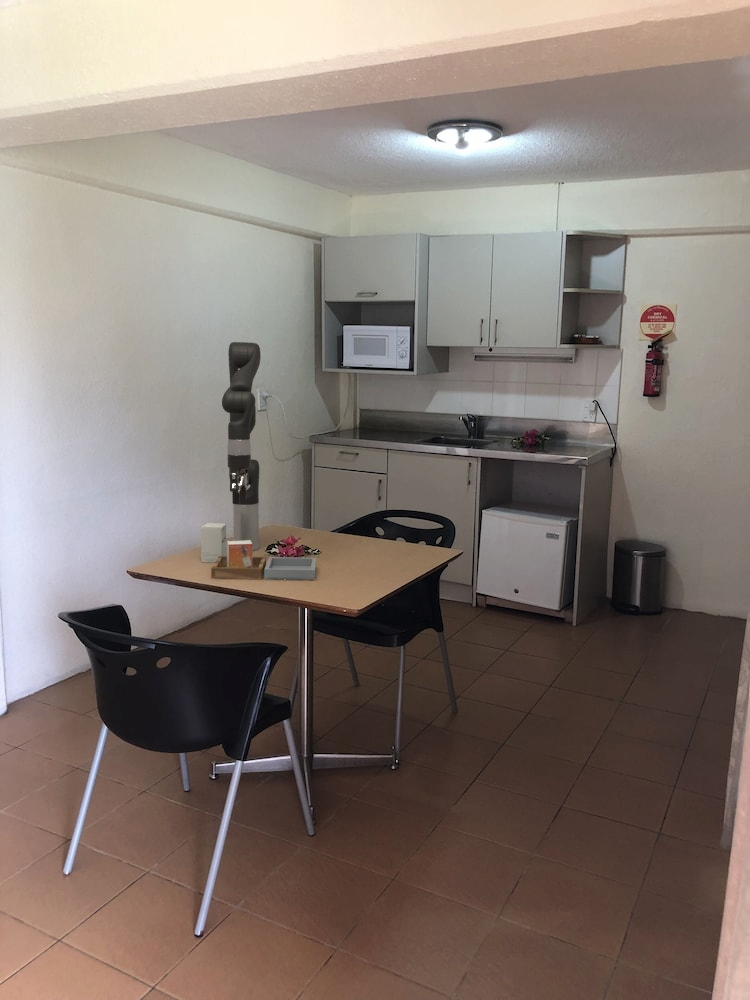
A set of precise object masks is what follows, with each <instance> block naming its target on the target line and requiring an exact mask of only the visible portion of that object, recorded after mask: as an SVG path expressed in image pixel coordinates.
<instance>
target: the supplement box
mask: <svg viewBox="0 0 750 1000" xmlns="http://www.w3.org/2000/svg"><path fill="white" fill-rule="evenodd" d="M200 533H201V534H200V541H201V543H200V545H201V547H200V549H201V551H200V552H201V557H200V558H201V560H200V561H201V563H213V564H214V563H215V562H216V560H217V559H218V557H219V556H227V523H222V522H221V523H219V522H218V523H217V522H216V523H215V522H206V523H205V524H203V525H202V526H201V528H200Z"/></svg>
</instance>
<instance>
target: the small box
mask: <svg viewBox="0 0 750 1000" xmlns="http://www.w3.org/2000/svg"><path fill="white" fill-rule="evenodd" d="M253 551H254V550H253V544H252V542H251V540H244V541H234V540H226V556H227V567H226V568H252V558H253V557H254V556H253Z"/></svg>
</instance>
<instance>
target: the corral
mask: <svg viewBox="0 0 750 1000" xmlns="http://www.w3.org/2000/svg"><path fill="white" fill-rule="evenodd" d="M252 557H253V558H252V568H227V555H226V556H219V557H218V559H217V560H216V562H215V563H213V564H212V566H211V568H210V572H211V574H210V575H211V576H210V578H220V579H219V580H245V579H249V581H252V580H253V581H254V580H255V581H256V580H257V581H261V580H262V579H263V577H264V569H265V567H266V564H267V556H252Z"/></svg>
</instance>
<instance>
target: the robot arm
mask: <svg viewBox="0 0 750 1000" xmlns="http://www.w3.org/2000/svg"><path fill="white" fill-rule="evenodd" d="M260 364H261V347H260V346H259V344H258V343H256V342H245V341H244V342H243V341H239V342H238V341H233V342H230V344H229V345H228V371H229V372H228V373H229V374H228V375H229V383H230V384H229V387H228V388H227V389H226V391H225V392H224V393H223V396H222V399H221V406H222V409H223V410H224V412H226V413H229V422H228V425H227V433H228V436H227V447H226V448H227V467H228V468H229V469H228V471H229V473H228V476H229V491H230V492H231V493H232V500H231V501H232V504H233V505H232V506H233V510H232V511H233V541H244V540H251V542H252V544H253V551H256V550H258V549H259V548H260V547H259V546H260V542H259V541H260V539H259V538H260V535H259V534H260V531H259V528H260V527H259V526H260V525H259V524H260V523H259V521H260V516H259V515H260V513H259V504H260V499H259V496H260V495H259V489H260V488H259V487H260V485H259V482H260V463H259V461H258V460H257V459H252V457H251V456H252V452H251V451H252V444H251V433H252V431H253V430H254V428H255V426H256V422H257V418H256V414H257V413H256V410H257V409H256V408H257V407H256V397H255V395H254V393H253V392H252V391H253V390H252V387H253V383H254V379H255V377H256V375H257V372H258V370H259V368H260Z"/></svg>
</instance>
